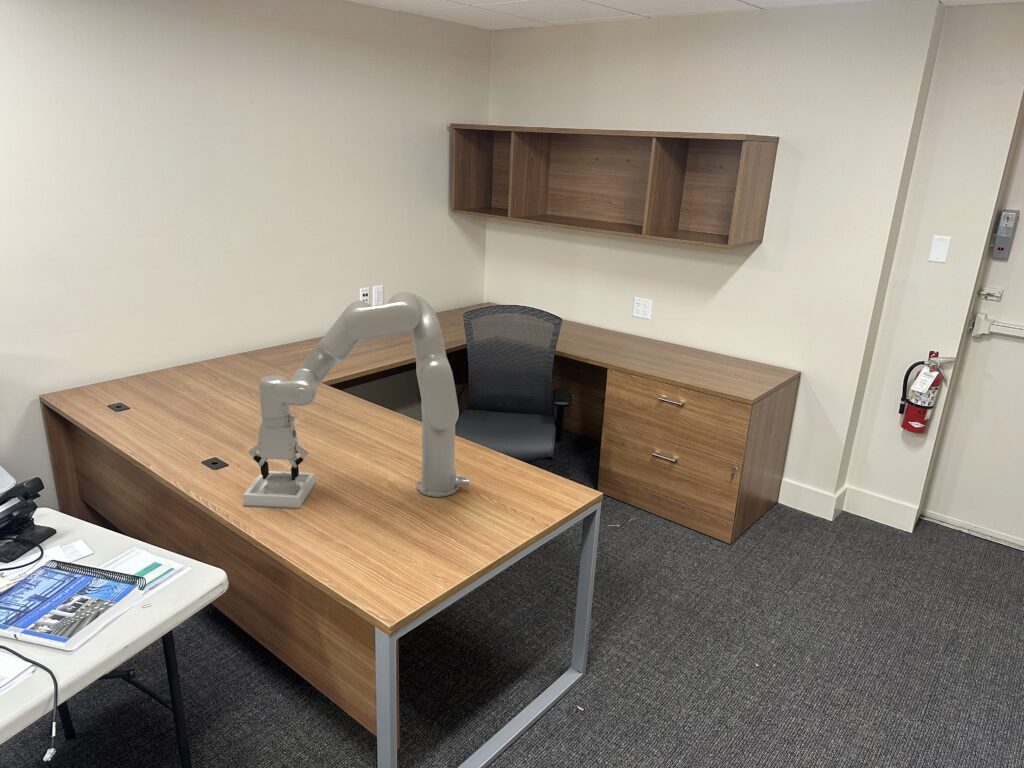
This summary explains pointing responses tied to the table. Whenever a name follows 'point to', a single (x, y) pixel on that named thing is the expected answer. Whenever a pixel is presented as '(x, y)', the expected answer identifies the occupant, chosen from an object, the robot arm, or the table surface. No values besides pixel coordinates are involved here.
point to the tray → (258, 498)
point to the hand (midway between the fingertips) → (280, 477)
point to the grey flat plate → (274, 507)
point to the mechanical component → (281, 484)
